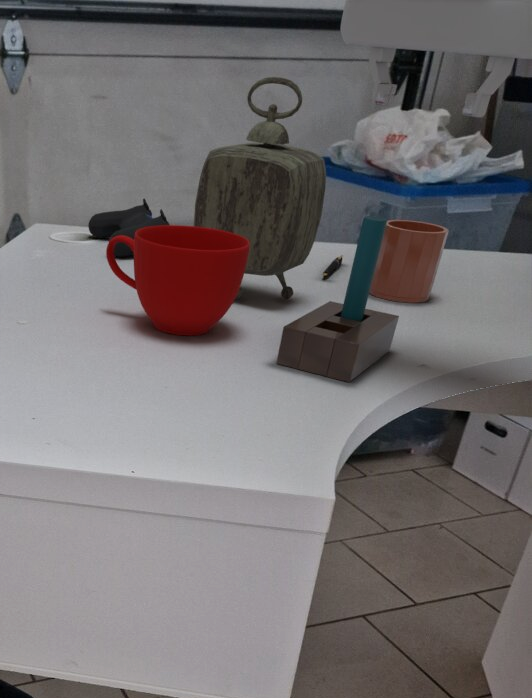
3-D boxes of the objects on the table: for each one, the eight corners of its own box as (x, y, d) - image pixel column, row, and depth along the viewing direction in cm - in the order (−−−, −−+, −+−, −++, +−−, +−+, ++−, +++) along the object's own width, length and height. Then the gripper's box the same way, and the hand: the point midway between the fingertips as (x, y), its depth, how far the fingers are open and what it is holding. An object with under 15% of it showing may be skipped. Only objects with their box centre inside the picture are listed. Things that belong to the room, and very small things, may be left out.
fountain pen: (326, 281, 121) (328, 270, 120) (318, 280, 122) (320, 269, 121) (343, 263, 132) (346, 253, 131) (336, 261, 132) (338, 252, 132)
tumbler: (435, 294, 119) (455, 227, 113) (419, 306, 113) (439, 235, 108) (377, 283, 122) (394, 217, 117) (359, 294, 116) (376, 225, 111)
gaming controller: (124, 276, 126) (181, 241, 125) (107, 241, 123) (166, 205, 122) (97, 250, 139) (149, 218, 138) (82, 218, 136) (135, 185, 135)
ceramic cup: (126, 299, 107) (133, 215, 101) (250, 325, 101) (265, 237, 95) (78, 322, 97) (83, 231, 92) (212, 352, 91) (227, 256, 85)
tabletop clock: (304, 300, 112) (348, 82, 97) (277, 313, 105) (321, 83, 91) (208, 279, 118) (237, 72, 104) (178, 291, 112) (204, 72, 97)
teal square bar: (357, 351, 95) (390, 218, 87) (350, 356, 93) (383, 221, 85) (337, 346, 96) (368, 215, 88) (329, 351, 94) (360, 217, 86)
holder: (389, 350, 95) (399, 315, 93) (349, 382, 86) (359, 344, 83) (322, 335, 99) (329, 300, 97) (276, 363, 89) (283, 326, 87)
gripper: (615, -75, 66) (548, 123, 74) (387, -71, 78) (351, 99, 86) (585, -85, 63) (518, 124, 71) (351, -80, 74) (317, 99, 82)
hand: (425, 110), depth 78 cm, fingers open, 8 cm apart
